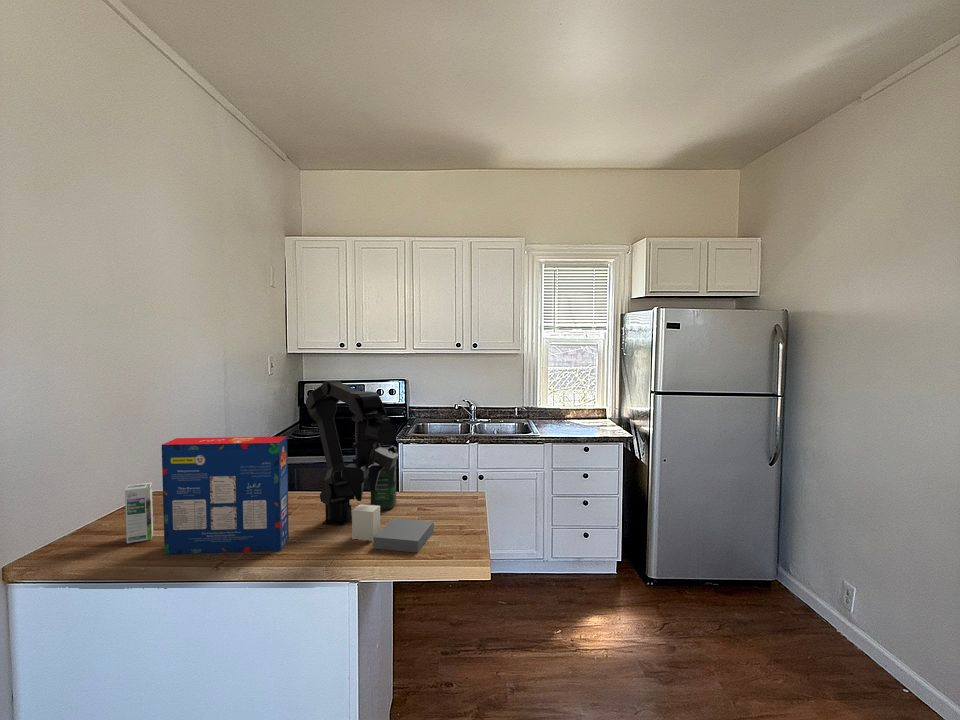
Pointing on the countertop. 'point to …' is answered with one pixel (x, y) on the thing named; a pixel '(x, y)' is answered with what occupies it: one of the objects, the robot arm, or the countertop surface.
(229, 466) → the blue cardboard box
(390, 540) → the podium
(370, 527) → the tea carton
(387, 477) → the coffee jar
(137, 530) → the syrup box
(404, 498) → the countertop surface
